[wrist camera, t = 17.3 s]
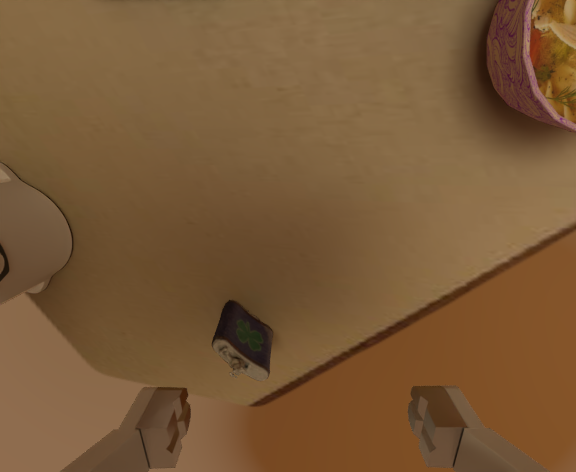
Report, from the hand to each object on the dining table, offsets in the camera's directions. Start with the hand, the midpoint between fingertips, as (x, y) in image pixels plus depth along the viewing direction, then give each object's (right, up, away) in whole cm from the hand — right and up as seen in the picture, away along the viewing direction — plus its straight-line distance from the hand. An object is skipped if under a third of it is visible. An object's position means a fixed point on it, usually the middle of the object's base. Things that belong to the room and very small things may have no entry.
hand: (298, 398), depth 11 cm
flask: (-7, -7, +36) cm, 37 cm away
